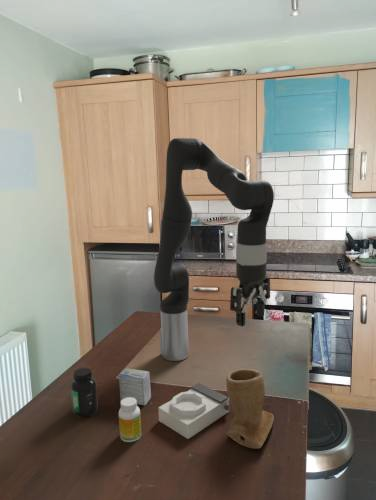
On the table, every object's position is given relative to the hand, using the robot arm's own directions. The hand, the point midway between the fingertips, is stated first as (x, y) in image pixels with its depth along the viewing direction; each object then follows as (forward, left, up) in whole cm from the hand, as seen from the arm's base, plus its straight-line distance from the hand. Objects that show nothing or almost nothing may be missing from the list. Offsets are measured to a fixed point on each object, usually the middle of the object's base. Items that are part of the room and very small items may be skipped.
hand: (250, 320), depth 111 cm
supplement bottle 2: (-16, -29, -27) cm, 42 cm away
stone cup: (+4, -7, -27) cm, 28 cm away
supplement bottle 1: (-34, -31, -27) cm, 53 cm away
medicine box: (-28, -18, -27) cm, 42 cm away
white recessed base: (-10, -12, -27) cm, 31 cm away
